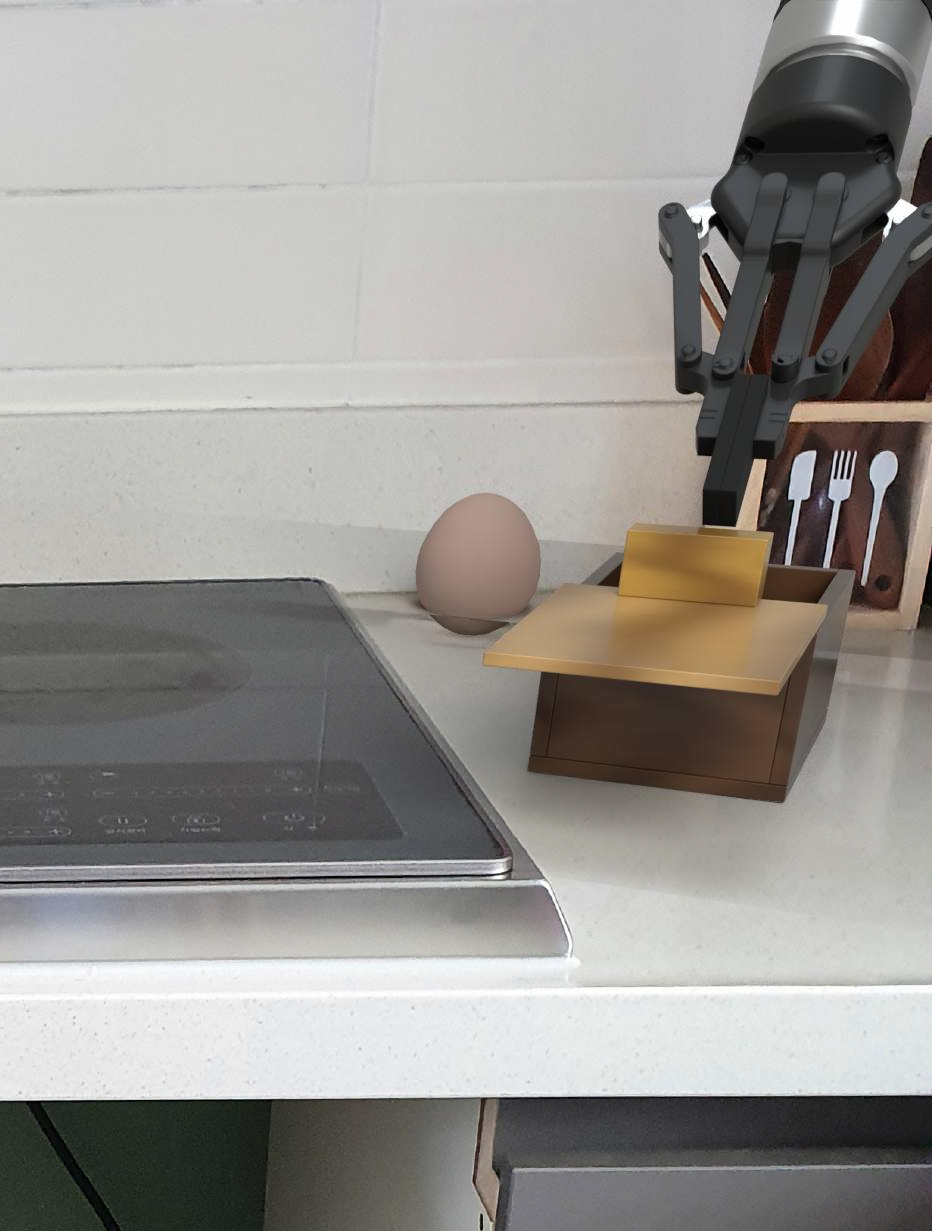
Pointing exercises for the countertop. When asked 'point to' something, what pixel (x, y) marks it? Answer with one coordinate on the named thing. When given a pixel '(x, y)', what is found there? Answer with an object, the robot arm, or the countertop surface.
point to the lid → (671, 617)
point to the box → (697, 711)
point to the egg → (478, 564)
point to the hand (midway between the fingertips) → (719, 508)
